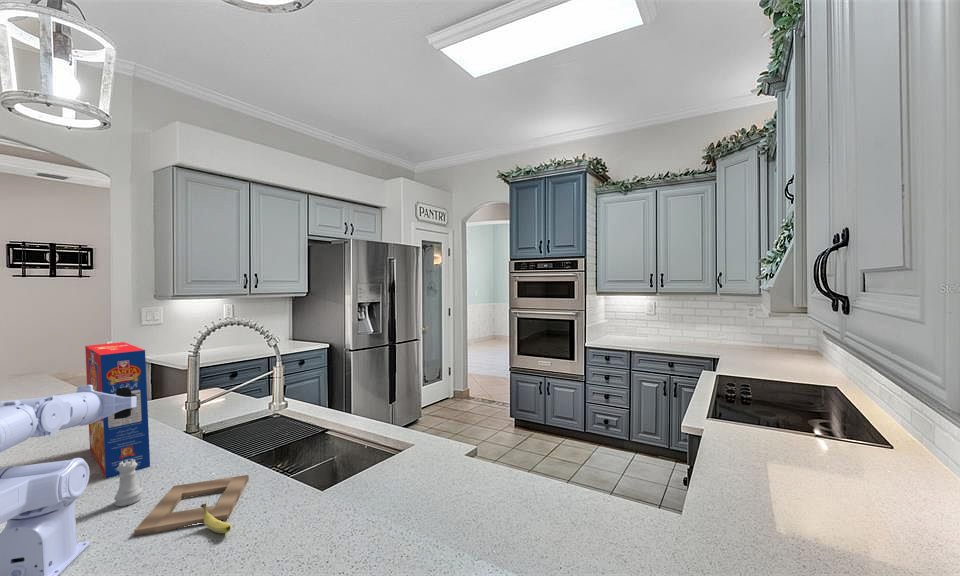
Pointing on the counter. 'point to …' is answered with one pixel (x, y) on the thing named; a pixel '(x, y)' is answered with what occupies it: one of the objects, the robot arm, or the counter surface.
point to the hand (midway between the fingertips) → (111, 402)
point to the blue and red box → (110, 435)
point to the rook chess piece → (127, 484)
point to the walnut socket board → (166, 520)
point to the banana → (214, 522)
